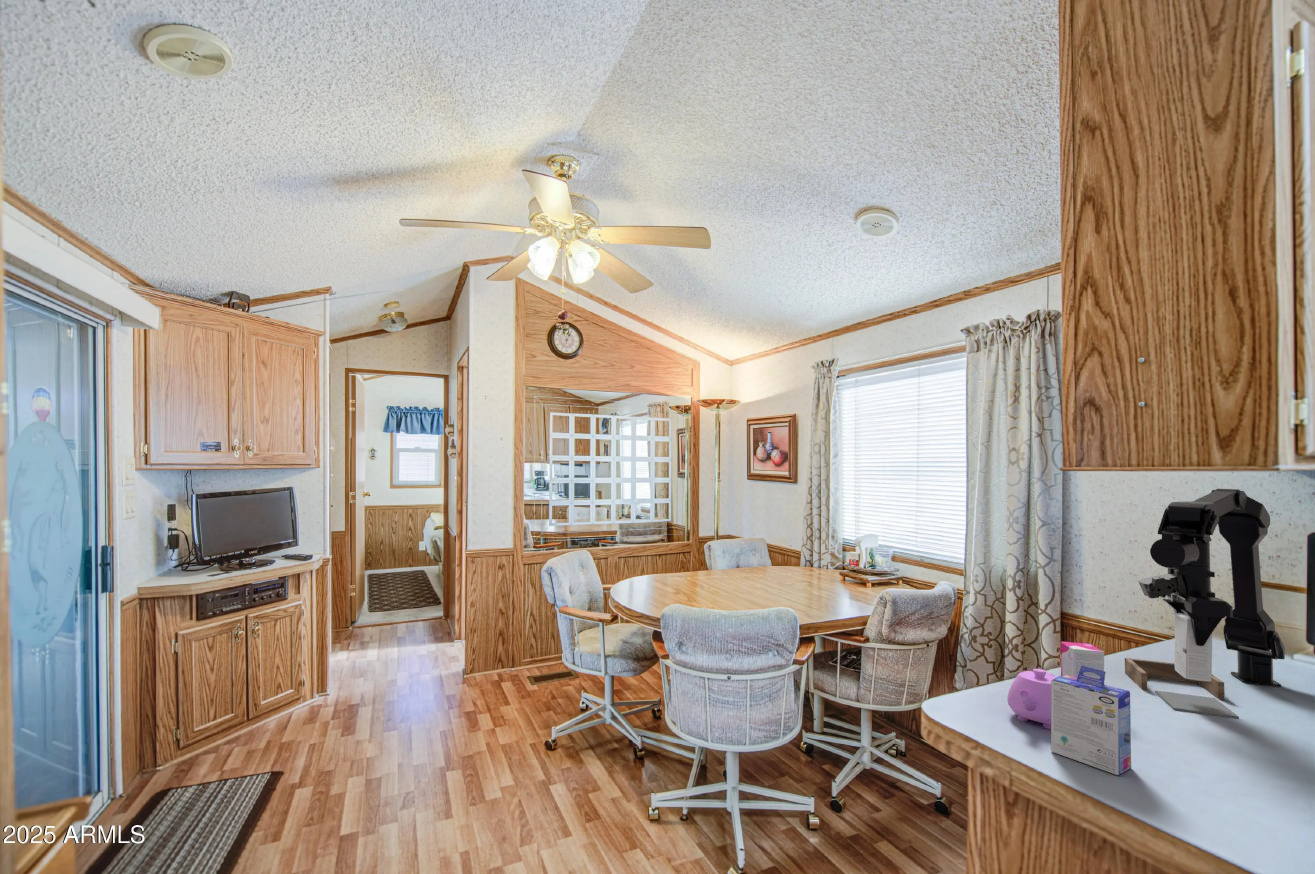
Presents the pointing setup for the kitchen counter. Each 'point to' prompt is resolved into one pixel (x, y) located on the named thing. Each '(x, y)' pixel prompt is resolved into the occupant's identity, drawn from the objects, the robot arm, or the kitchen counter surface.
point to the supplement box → (1080, 659)
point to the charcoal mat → (1196, 704)
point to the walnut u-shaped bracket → (1166, 675)
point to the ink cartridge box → (1091, 721)
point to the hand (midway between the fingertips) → (1193, 641)
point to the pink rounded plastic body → (1032, 696)
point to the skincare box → (1191, 651)
